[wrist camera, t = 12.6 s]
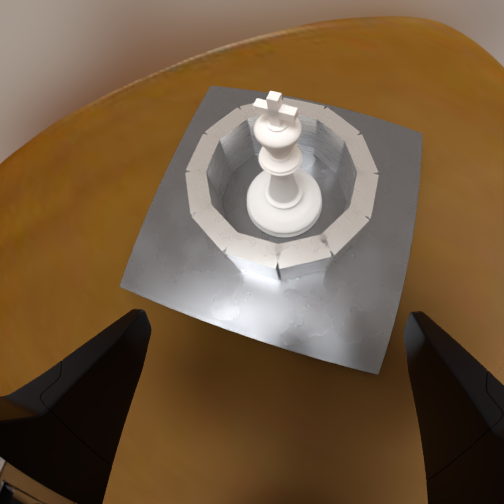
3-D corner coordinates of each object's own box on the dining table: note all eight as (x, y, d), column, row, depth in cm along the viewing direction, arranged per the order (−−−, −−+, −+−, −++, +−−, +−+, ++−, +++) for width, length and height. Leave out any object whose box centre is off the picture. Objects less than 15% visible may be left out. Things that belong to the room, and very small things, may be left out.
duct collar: (374, 372, 17) (399, 385, 12) (126, 288, 21) (85, 276, 16) (418, 140, 20) (439, 102, 16) (213, 93, 24) (199, 53, 19)
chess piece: (263, 160, 20) (240, 49, 11) (331, 182, 19) (354, 73, 10) (235, 222, 20) (184, 131, 10) (306, 249, 19) (319, 168, 9)
